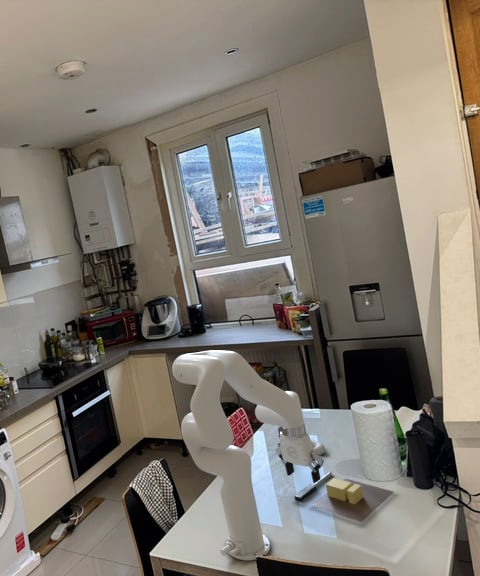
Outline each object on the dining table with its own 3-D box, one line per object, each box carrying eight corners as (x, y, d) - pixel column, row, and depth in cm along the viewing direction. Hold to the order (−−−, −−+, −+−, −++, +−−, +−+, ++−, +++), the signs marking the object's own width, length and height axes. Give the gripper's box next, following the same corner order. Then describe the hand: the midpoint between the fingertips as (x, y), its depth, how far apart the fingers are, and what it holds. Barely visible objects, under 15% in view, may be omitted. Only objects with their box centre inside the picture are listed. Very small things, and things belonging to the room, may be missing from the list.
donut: (323, 459, 191) (327, 447, 199) (322, 451, 190) (325, 438, 199) (296, 458, 196) (300, 446, 205) (294, 450, 196) (299, 438, 204)
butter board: (361, 526, 149) (361, 522, 149) (312, 509, 162) (311, 505, 162) (394, 495, 160) (394, 491, 160) (345, 481, 173) (345, 478, 173)
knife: (301, 505, 165) (300, 497, 165) (295, 503, 167) (294, 495, 167) (335, 478, 176) (333, 471, 176) (329, 477, 178) (327, 470, 178)
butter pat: (355, 504, 158) (352, 492, 157) (349, 502, 159) (346, 490, 159) (363, 497, 160) (361, 485, 160) (357, 495, 162) (355, 483, 162)
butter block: (345, 501, 160) (343, 489, 160) (327, 495, 165) (325, 484, 165) (353, 494, 163) (351, 482, 163) (336, 489, 168) (333, 477, 168)
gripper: (264, 429, 172) (274, 475, 174) (310, 439, 158) (321, 490, 159) (277, 420, 176) (287, 466, 178) (324, 429, 162) (334, 479, 163)
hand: (303, 477), depth 169 cm, fingers open, 9 cm apart
